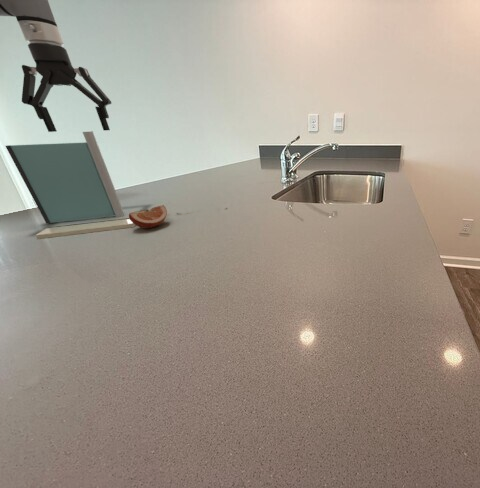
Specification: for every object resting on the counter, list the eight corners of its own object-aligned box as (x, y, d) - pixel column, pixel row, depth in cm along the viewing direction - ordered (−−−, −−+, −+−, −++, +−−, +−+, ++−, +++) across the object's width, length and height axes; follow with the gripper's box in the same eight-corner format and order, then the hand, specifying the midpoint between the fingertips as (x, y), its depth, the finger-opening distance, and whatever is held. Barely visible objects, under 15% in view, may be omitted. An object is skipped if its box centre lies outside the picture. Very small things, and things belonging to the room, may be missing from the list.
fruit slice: (163, 219, 72) (157, 202, 70) (176, 224, 69) (171, 206, 66) (130, 229, 66) (122, 211, 64) (142, 235, 62) (135, 215, 60)
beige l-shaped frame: (37, 239, 62) (-21, 135, 52) (71, 217, 75) (30, 132, 65) (133, 227, 67) (98, 131, 57) (149, 209, 81) (122, 129, 71)
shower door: (46, 223, 67) (5, 145, 59) (65, 212, 75) (31, 142, 67) (114, 215, 71) (84, 142, 63) (125, 206, 79) (100, 140, 71)
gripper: (-27, 38, 63) (19, 132, 72) (95, 44, 70) (123, 130, 79) (-4, 45, 69) (36, 131, 78) (106, 51, 76) (131, 129, 85)
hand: (80, 131), depth 79 cm, fingers open, 13 cm apart
